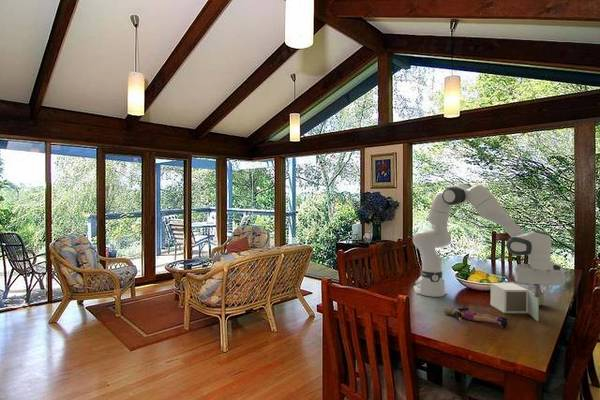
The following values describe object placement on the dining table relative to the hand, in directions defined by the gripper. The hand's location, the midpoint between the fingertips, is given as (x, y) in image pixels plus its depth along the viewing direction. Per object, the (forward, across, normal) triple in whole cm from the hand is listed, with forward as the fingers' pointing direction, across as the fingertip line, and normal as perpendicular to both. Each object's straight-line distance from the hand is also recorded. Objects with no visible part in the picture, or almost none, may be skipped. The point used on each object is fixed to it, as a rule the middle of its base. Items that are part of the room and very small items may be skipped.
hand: (538, 293), depth 166 cm
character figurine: (+14, -30, -4) cm, 33 cm away
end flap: (+13, 0, +5) cm, 14 cm away
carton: (+14, -7, +17) cm, 23 cm away
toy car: (+14, +3, +32) cm, 36 cm away
